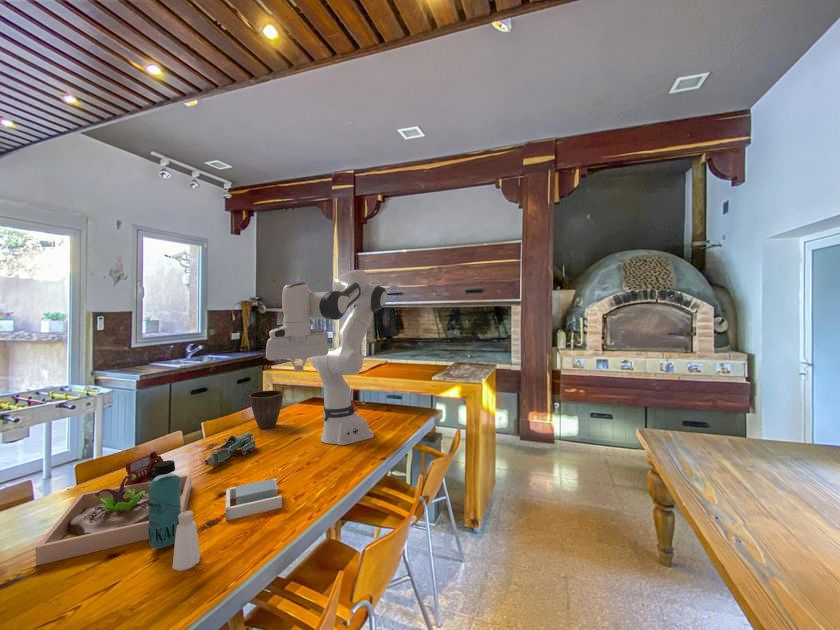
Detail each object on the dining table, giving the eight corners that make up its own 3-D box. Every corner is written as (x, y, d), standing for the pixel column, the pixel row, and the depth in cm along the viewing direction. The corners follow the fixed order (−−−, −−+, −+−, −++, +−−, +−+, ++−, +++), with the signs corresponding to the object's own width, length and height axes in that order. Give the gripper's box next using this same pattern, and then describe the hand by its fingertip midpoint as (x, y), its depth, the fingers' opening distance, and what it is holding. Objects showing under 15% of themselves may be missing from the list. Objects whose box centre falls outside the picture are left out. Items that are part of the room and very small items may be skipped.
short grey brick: (275, 492, 113) (275, 478, 113) (278, 503, 107) (277, 488, 107) (236, 501, 108) (235, 486, 108) (236, 513, 102) (236, 497, 102)
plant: (181, 510, 104) (180, 471, 104) (93, 550, 87) (92, 502, 87) (146, 493, 114) (145, 457, 114) (61, 526, 97) (60, 483, 97)
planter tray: (191, 486, 118) (191, 474, 118) (181, 531, 94) (180, 515, 94) (80, 508, 106) (80, 494, 106) (35, 565, 81) (35, 547, 81)
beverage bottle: (159, 539, 91) (157, 457, 90) (188, 537, 91) (186, 456, 91) (141, 556, 84) (140, 469, 84) (172, 554, 85) (170, 467, 84)
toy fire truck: (173, 479, 123) (173, 448, 123) (137, 498, 111) (136, 463, 111) (156, 477, 125) (156, 446, 125) (119, 495, 113) (118, 461, 113)
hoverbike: (262, 447, 152) (261, 427, 152) (217, 473, 127) (216, 449, 127) (241, 445, 154) (241, 425, 154) (193, 471, 129) (192, 447, 129)
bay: (276, 488, 116) (276, 478, 116) (281, 507, 105) (281, 496, 105) (226, 498, 110) (226, 488, 110) (225, 520, 98) (225, 509, 98)
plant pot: (276, 431, 171) (275, 397, 171) (244, 432, 171) (243, 397, 171) (288, 422, 186) (287, 390, 186) (258, 422, 186) (257, 390, 186)
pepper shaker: (192, 570, 79) (191, 519, 79) (166, 572, 79) (165, 520, 79) (205, 554, 85) (204, 506, 85) (180, 555, 84) (179, 507, 84)
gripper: (325, 328, 133) (327, 366, 134) (264, 331, 124) (266, 372, 124) (330, 329, 127) (331, 368, 128) (265, 332, 118) (267, 376, 119)
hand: (298, 370), depth 126 cm, fingers closed
